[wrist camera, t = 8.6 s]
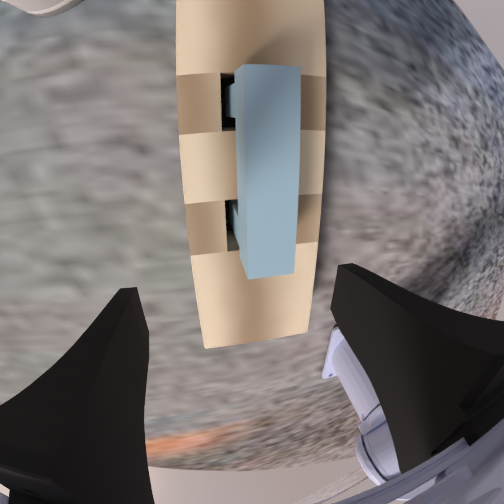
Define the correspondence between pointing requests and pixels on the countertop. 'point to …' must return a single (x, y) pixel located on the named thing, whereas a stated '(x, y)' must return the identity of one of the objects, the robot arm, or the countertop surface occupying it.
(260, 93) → the clip
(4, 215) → the countertop surface
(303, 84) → the rail
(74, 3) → the travel mug
